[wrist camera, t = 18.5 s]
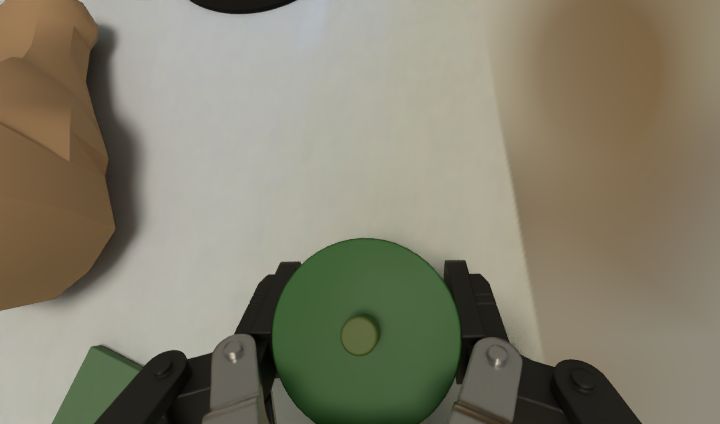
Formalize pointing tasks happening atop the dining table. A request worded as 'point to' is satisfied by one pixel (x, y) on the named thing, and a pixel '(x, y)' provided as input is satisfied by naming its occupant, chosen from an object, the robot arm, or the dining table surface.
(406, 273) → the green knobbed canister
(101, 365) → the towel
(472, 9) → the dining table surface
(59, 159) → the squash
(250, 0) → the phone display stand
